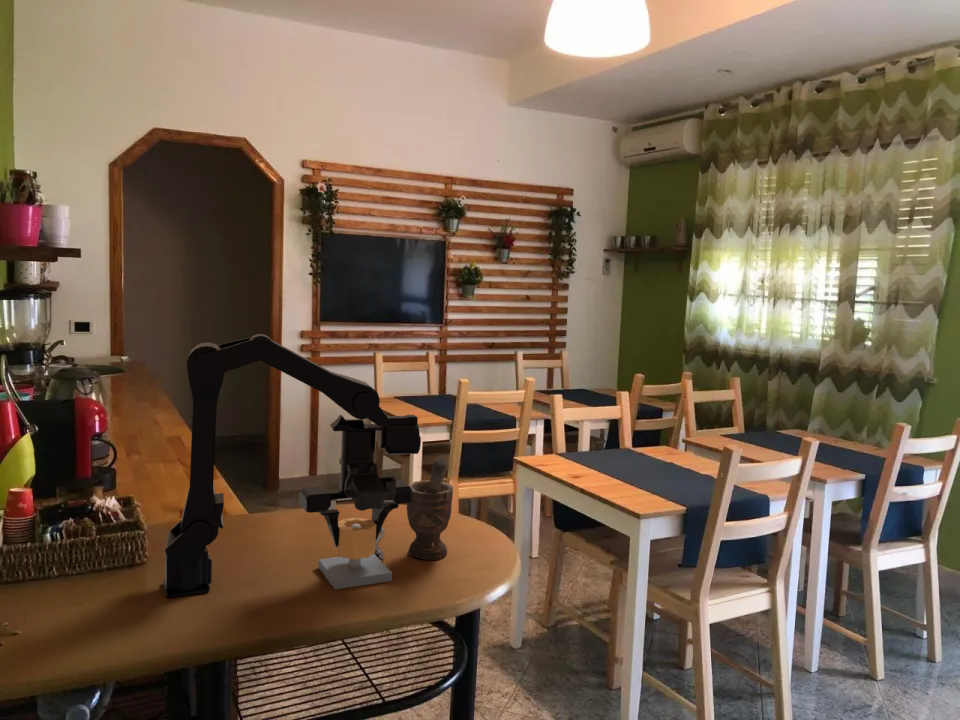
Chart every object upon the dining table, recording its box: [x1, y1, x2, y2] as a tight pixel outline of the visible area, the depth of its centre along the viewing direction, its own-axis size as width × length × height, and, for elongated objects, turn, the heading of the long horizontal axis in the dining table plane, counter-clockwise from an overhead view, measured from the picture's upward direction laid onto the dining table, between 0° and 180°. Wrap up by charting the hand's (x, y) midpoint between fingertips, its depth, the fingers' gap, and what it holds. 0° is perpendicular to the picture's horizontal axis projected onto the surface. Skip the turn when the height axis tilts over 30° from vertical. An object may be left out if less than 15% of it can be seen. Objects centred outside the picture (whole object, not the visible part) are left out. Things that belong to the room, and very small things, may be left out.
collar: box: [334, 517, 376, 559], centre depth 130 cm, size 6×6×5 cm
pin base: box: [318, 524, 393, 590], centre depth 130 cm, size 10×10×9 cm
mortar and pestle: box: [406, 457, 454, 561], centre depth 140 cm, size 12×9×20 cm
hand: (355, 543), depth 130 cm, fingers closed on collar, 6 cm apart
